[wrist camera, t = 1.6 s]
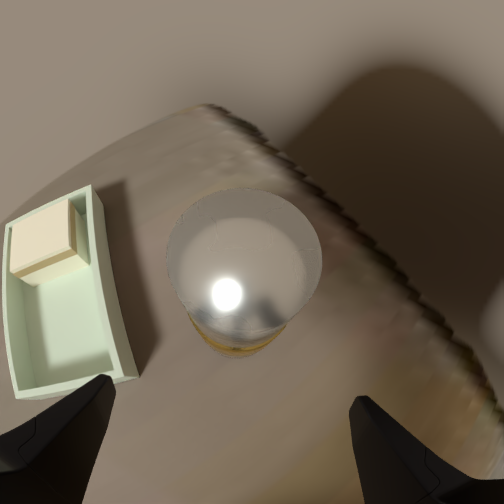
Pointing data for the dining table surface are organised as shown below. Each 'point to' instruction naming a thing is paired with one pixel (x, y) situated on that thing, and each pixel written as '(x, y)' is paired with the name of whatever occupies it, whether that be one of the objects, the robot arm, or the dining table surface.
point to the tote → (66, 317)
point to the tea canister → (243, 267)
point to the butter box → (48, 244)
